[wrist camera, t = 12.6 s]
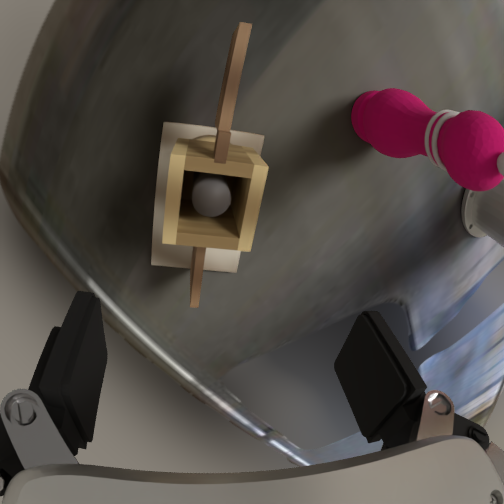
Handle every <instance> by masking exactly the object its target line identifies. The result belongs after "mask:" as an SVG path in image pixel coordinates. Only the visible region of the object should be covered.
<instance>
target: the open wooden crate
mask: <svg viewBox="0 0 504 504" xmlns="http://www.w3.org/2000/svg"><path fill="white" fill-rule="evenodd" d="M251 27H252V24H249V23H243V22H240V23H239V25H238V26H237V28H236V30H235V31H234V33H233V35H232V40H231V44H230V49H229V54H228V58H227V63H226V68H225V73H224V78H223V83H222V88H221V93H220V98H219V104H218V109H217V115H216V120H215V126H216V129H217V134H216V140H215V142H209V141H201V140H193V139H184V138H178V139H177V141H176V143H175V146H174V148H173V150H172V152H171V156H170V164H169V172H168V181H167V191H166V202H165V213H164V225H163V239H162V243H163V244H174V245H184V246H195V247H206V248H216V249H227V250H237V251H248V252H250V251H251V247H252V242H253V237H254V233H255V228H256V224H257V219H258V214H259V210H260V205H261V200H262V196H263V191H264V187H265V182H266V177H267V173H268V168H269V167H268V165H267V164H266V163H265V162H264V161H263V159H262V158H261V157H260V156H259V155H258V153H257V152H256V151H255V150H254V149H253V148H251V147H245V146H238V145H231V144H230V138H231V132H230V129H231V123H232V118H233V113H234V108H235V103H236V98H237V93H238V88H239V83H240V78H241V73H242V68H243V64H244V59H245V54H246V50H247V45H248V40H249V36H250V32H251ZM185 170H187V171H196V172H205V173H213V174H221V175H229V176H236V178H235V183H234V189H233V194H232V200H231V204H230V205H229V207H228V208H227V210H226V211H225V212H224V213H222V214H221V215H218V216H215V217H207V216H203V215H201V214H200V213H198V212H197V211H196V209H195V208H194V206H193V203H192V200H186V199H181V198H182V190H183V182H184V174H185Z"/></svg>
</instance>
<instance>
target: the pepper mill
mask: <svg viewBox="0 0 504 504" xmlns="http://www.w3.org/2000/svg"><path fill="white" fill-rule="evenodd" d="M351 120H352V125H353V128H354V130H355V132H356V133H357V135H358V136H359V137H360V138H361V139H362V140H364V141H366V142H368V143H370V144H371V145H372V146H373V147H374V148H375V149H376V150H377V151H379V152H380V153H382V154H384V155H387V156H390V157H395V158H406V157H411V156H415V155H418V154H422V155H425V156H428V157H429V159H430V161H431V162H432V163H433V164H434V165H435V166H437V167H439V168H441V169H443V170H445V171H447V172H448V173H449V175H450V177H451V178H452V179H453V180H454V181H455V182H456V183H458V184H459V185H460V186H462V187H464V188H466V189H469V190H472V191H478V192H480V191H487V190H490V189H492V188H494V187H495V186H497V185H498V184H499V183H500V182H501V181H502V180H503V178H504V129H503V127H502V126H501V125H500V123H499V122H498V121H496V120H495V119H494V118H493V117H491V116H490V115H488V114H486V113H483V112H481V111H472V110H468V111H464V112H461V113H459V112H455V111H452V110H442V111H439V112H434V111H432V110H431V109H429V108H428V107H427V106H426V105H425V104H424V103H423V102H422V101H421V100H420V99H419V98H417V97H416V96H414V95H413V94H411V93H409V92H407V91H404V90H400V89H395V88H390V89H385V90H382V91H369V92H366V93H364V94H362V95H361V96H360V97H359V98H358V99H357V100H356V101H355V103H354V106H353V108H352V113H351Z"/></svg>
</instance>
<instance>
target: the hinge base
mask: <svg viewBox="0 0 504 504" xmlns="http://www.w3.org/2000/svg"><path fill="white" fill-rule="evenodd" d="M230 132H231V138H230V144H231V145H238V146H245V147H251V148H253V149H254V150H255V151H256V152H257V153H258V155H259V156H261V151H262V146H263V141H264V137H265V136H264V135H260V134H254V133H249V132H243V131H236V130H230ZM216 134H217V129H216V127H208V126H201V125H192V124H184V123H174V122H164V124H163V131H162V138H161V146H160V155H159V163H158V173H157V183H156V194H155V206H154V220H153V236H152V257H151V265H158V266H168V267H179V268H190V269H191V270H190V307H195V308H198V306H199V298H200V290H201V282H202V275H203V270H213V271H224V272H237V267H238V262H239V257H240V252H241V251H237V250H227V249H216V248H206V247H195V246H184V245H174V244H163V243H162V239H163V225H164V213H165V202H166V191H167V181H168V172H169V164H170V156H171V152H172V150H173V148H174V146H175V143H176V141H177V139H178V138H184V139H193V140H201V141H209V142H215V140H216ZM235 178H236V176H229V175H221V174H213V173H205V172H196V171H187V170H185V174H184V182H183V190H182V198H181V199H186V200H192V203H193V206H194V208H195V209H196V211H197V212H198V213H200V214H201V215H203V216H207V217H215V216H218V215H221V214H222V213H224V212H225V211H226V210H227V208H228V207H229V205H230V204H231V200H232V194H233V189H234V183H235Z"/></svg>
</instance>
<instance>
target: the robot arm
mask: <svg viewBox="0 0 504 504" xmlns="http://www.w3.org/2000/svg"><path fill="white" fill-rule="evenodd" d="M461 216H462V222H463V225H464V227H465V229H466V231H467V232H468V233H470V234H471V235H473V236H474V237H484V236H487V235H488V236H489V237H491V238H492V239H493V240H495V241H496V242H497V243H499V244H500V245H501V246H503V247H504V178H503V180H502V181H501V182H500V183H499V184H498V185H497V186H495V187H494V188H492V189H490V190H487V191H480V192H478V191H472V190H469V189H466V190H465V193H464V197H463V201H462V208H461ZM106 364H107V348H106V342H105V335H104V329H103V321H102V313H101V305H100V299H99V298H96V297H95V295H94V293H91V292H83V291H77V293H76V295H75V297H74V299H73V301H72V304H71V306H70V308H69V310H68V313H67V315H66V317H65V319H64V322H63V324H62V327H54V328H53V329H52V331H51V333H50V335H49V337H48V340H47V342H46V344H45V347H44V349H43V352H42V354H41V357H40V359H39V362H38V364H37V367H36V370H35V372H34V375H33V378H32V380H31V383H30V386H29V389H28V390H27V389H17V390H13V391H12V392H10V393H8V394H7V395H6V396H5V397H4V398H3V400H2V403H1V407H0V496H3V495H4V497H3V501H2V504H504V451H503V450H502V449H500V448H499V447H498V446H497V445H496V444H494V443H493V442H492V441H491V443H489V436H488V434H487V432H486V430H485V429H484V428H483V427H482V426H480V425H478V424H476V423H474V422H472V421H470V420H468V419H466V418H464V417H462V416H460V415H458V414H456V413H454V411H455V410H454V404H453V402H452V400H451V399H450V397H449V396H447V395H446V394H445V393H443V392H441V391H438V390H431V391H429V392H428V393H427V394H425V392H424V391H425V389H426V388H427V386H426V384H425V383H424V381H423V379H422V378H421V376H420V374H419V373H418V371H417V370H416V368H415V367H414V365H413V363H412V362H411V360H410V359H409V357H408V355H407V354H406V352H405V351H404V349H403V348H402V346H401V345H400V343H399V342H398V340H397V339H396V337H395V335H394V334H393V333H392V331H391V329H390V328H389V327H388V325H387V324H386V322H385V320H384V319H383V317H382V316H381V315H380V313H379V312H377V311H364V312H362V314H361V315H359V316H358V317H357V319H356V322H355V323H354V325H353V327H352V329H351V331H350V334H349V335H348V338H347V339H346V342H345V343H344V345H343V347H342V349H341V351H340V353H339V355H338V357H337V359H336V361H335V363H334V368H335V372H336V374H337V376H338V379H339V381H340V383H341V386H342V388H343V390H344V393H345V395H346V397H347V399H348V402H349V404H350V407H351V409H352V411H353V414H354V416H355V418H356V421H357V423H358V426H359V428H360V431H361V433H362V435H363V436H364V437H366V439H367V441H368V443H372V442H376V441H380V440H381V439H382V440H383V445H382V448H381V451H378V452H374V453H370V454H366V455H362V456H357V457H353V458H348V459H343V460H338V461H333V462H328V463H322V464H316V465H310V466H303V467H296V468H288V469H280V470H269V471H257V472H241V473H171V472H155V471H140V470H131V469H122V468H113V467H104V466H95V465H83V464H79V463H78V461H77V460H76V458H75V457H74V456H75V455H77V454H78V448H82V449H86V446H87V442H92V440H93V434H94V427H95V421H96V415H97V409H98V404H99V398H100V393H101V388H102V383H103V378H104V373H105V368H106Z"/></svg>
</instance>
